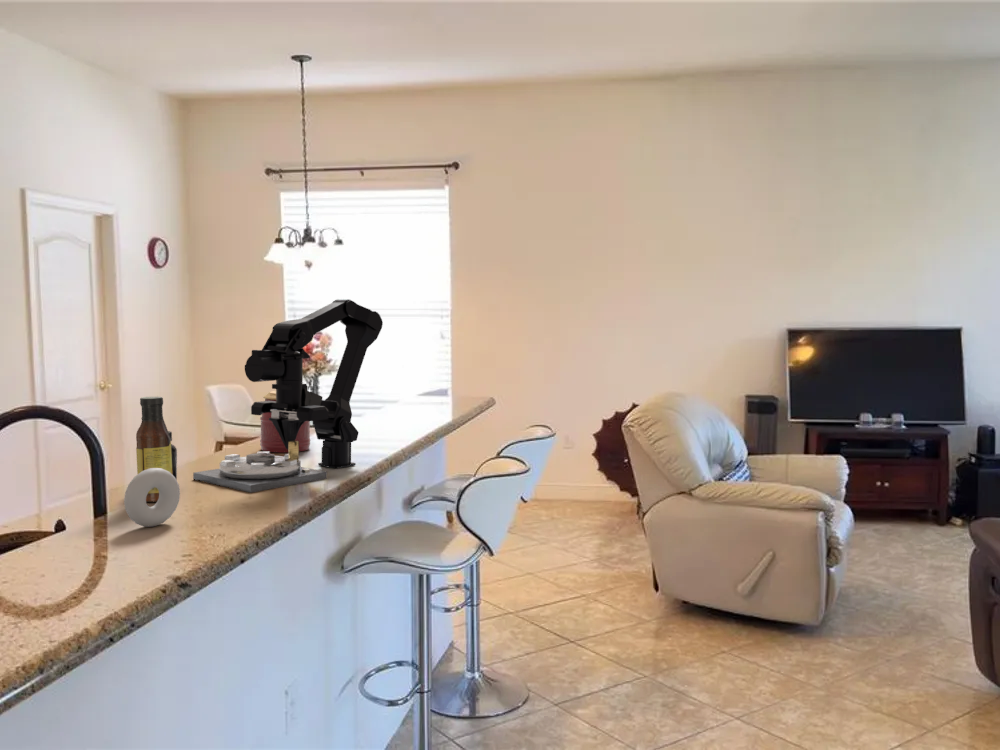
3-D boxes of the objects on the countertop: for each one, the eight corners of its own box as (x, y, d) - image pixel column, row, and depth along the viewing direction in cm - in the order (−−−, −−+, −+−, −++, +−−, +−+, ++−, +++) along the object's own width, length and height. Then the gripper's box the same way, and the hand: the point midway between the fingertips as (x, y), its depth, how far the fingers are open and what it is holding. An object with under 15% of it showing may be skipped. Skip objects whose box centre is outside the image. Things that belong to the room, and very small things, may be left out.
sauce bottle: (180, 498, 164) (179, 396, 163) (157, 504, 158) (156, 399, 157) (152, 495, 166) (151, 395, 165) (129, 501, 160) (128, 397, 159)
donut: (132, 534, 137) (132, 473, 137) (119, 530, 139) (119, 471, 139) (184, 521, 146) (184, 464, 145) (171, 519, 148) (171, 462, 147)
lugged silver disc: (316, 470, 186) (317, 441, 186) (255, 482, 172) (255, 450, 172) (265, 461, 196) (265, 433, 195) (202, 472, 182) (202, 442, 181)
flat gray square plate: (269, 467, 198) (269, 458, 198) (326, 478, 186) (326, 469, 186) (193, 479, 182) (193, 469, 182) (250, 492, 170) (250, 482, 170)
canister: (288, 444, 233) (288, 380, 232) (320, 449, 225) (320, 383, 224) (249, 449, 223) (249, 383, 221) (282, 455, 215) (282, 386, 214)
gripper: (345, 379, 189) (345, 448, 190) (286, 375, 199) (286, 440, 200) (310, 382, 179) (309, 455, 181) (249, 377, 189) (249, 446, 190)
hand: (289, 449), depth 188 cm, fingers closed
